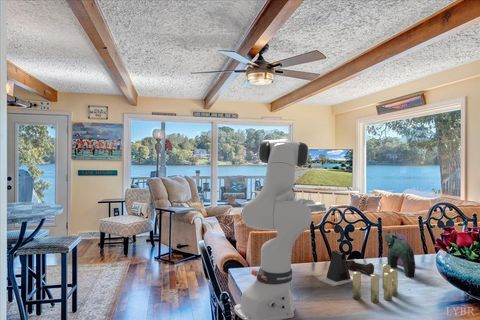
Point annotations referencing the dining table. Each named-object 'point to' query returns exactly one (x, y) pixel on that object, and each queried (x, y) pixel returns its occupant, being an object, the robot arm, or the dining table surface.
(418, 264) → the dining table surface
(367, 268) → the bolt
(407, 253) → the green animal figurine
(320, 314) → the dining table surface
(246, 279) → the dining table surface
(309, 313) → the dining table surface
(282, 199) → the robot arm
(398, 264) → the toy chair
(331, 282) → the mat
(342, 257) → the phone stand
